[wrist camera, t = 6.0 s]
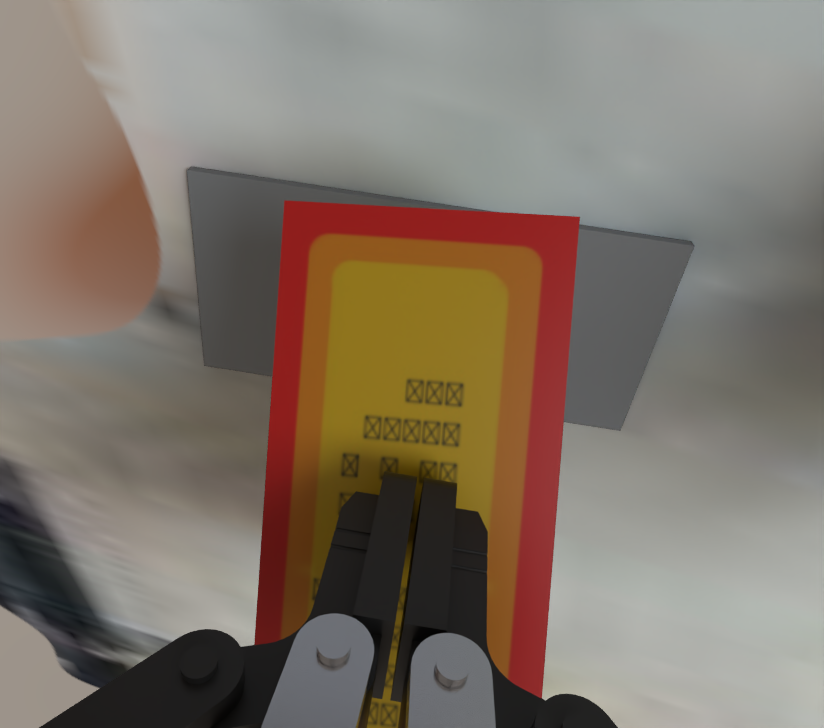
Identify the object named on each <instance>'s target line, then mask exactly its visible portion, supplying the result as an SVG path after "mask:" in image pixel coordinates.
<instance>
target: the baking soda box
mask: <svg viewBox="0 0 824 728" xmlns="http://www.w3.org/2000/svg"><path fill="white" fill-rule="evenodd" d="M579 221H580V217H572V216H554V215H536V214H518V213H500V212H482V211H465V210H447V209H429V208H411V207H393V206H375V205H358V204H340V203H322V202H304V201H286V200H284V214H283V228H282V243H281V258H280V273H279V288H278V303H277V318H276V332H275V347H274V362H273V377H272V392H271V407H270V422H269V436H268V451H267V466H266V481H265V496H264V511H263V526H262V540H261V555H260V570H259V585H258V600H257V615H256V630H255V644H254V645H259V644H266V643H271V642H276V641H279V640H281V639H284V638H286V637H288V636H290V635H291V634H293V633H294V632H296V631H297V630H298V629H299V628H300V627H301V626H302V625H303V624H304V623H305V622H306V620H307V619H308V617H309V615H310V613H311V611H312V608H313V605H314V601H315V598H316V594H317V591H318V587H319V584H320V580H321V577H322V573H323V570H324V566H325V563H326V559H327V556H328V552H329V549H330V547H331V542H332V538H333V535H334V531H335V529H336V524H337V521H338V517H339V514H340V510H341V507H342V506H343V505H344V504H345V503H346V502H347V501H348V500H349V499H350V497H351V496H352V495H353V494H354V493H355V492H356V491H357V492H363V493H369V494H375V495H379V493H380V489H381V484H382V480H383V475H384V472H385V471H387V472H393V473H399V474H405V475H411V476H417V483H416V489H415V496H414V503H413V509H412V516H411V522H410V529H409V535H408V542H407V549H406V555H405V562H404V568H403V575H402V581H401V588H400V595H399V601H398V608H397V614H396V621H395V627H394V633H393V639H392V645H391V651H390V656H389V662H388V668H387V674H386V680H385V686H384V692H383V698H382V699H378V698H372V700H371V706H370V712H369V718H368V724H367V728H398V723H399V715H400V707H401V702H396V701H391V700H390V698H391V691H392V684H393V677H394V670H395V663H396V656H397V649H398V642H399V635H400V628H401V621H402V614H403V607H404V600H405V593H406V586H407V579H408V572H409V565H410V558H411V552H412V545H413V539H414V533H415V527H416V521H417V515H418V509H419V504H420V498H421V492H422V486H423V481H424V478H430V479H436V480H442V481H448V482H454V483H457V497H456V508H460V509H466V510H472V511H478V512H479V514H480V516H481V519H482V521H483V523H484V525H485V527H486V529H487V531H488V553H487V557H488V561H487V646H488V650H489V653H490V656H491V658H492V660H493V662H494V664H495V665H496V667H497V668H498V669H499V671H500V672H501V673H502V674H503V675H504V676H505V677H506V678H507V679H508V680H510V681H511V682H512V683H514V684H515V685H517V686H519V687H520V688H522V689H524V690H526V691H528V692H530V693H532V694H534V695H536V696H538V697H539V698H541V699H542V688H543V675H544V663H545V650H546V637H547V625H548V612H549V600H550V587H551V574H552V562H553V549H554V537H555V524H556V511H557V499H558V486H559V473H560V461H561V448H562V436H563V423H564V410H565V398H566V385H567V372H568V360H569V347H570V335H571V322H572V309H573V297H574V284H575V272H576V259H577V246H578V234H579Z"/></svg>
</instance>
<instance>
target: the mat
mask: <svg viewBox="0 0 824 728" xmlns="http://www.w3.org/2000/svg"><path fill="white" fill-rule="evenodd" d="M187 177H188V189H189V200H190V211H191V222H192V234H193V245H194V256H195V267H196V278H197V290H198V301H199V312H200V323H201V335H202V346H203V357H204V366H210V367H216V368H222V369H229V370H235V371H242V372H248V373H254V374H261V375H267V376H273V362H274V347H275V332H276V318H277V303H278V288H279V273H280V258H281V243H282V228H283V214H284V200H286V201H304V202H322V203H340V204H358V205H375V206H393V207H411V208H429V209H447V210H465V211H482V212H491V211H484V210H478V209H471V208H464V207H458V206H451V205H444V204H438V203H431V202H424V201H418V200H411V199H404V198H397V197H391V196H384V195H377V194H371V193H364V192H357V191H351V190H344V189H337V188H331V187H324V186H317V185H311V184H304V183H297V182H291V181H284V180H277V179H271V178H264V177H257V176H251V175H244V174H237V173H231V172H224V171H217V170H211V169H204V168H197V167H190V168H189V169H187ZM693 248H694V245H693V243H692V242H691V241H684V240H678V239H671V238H664V237H658V236H651V235H644V234H638V233H631V232H624V231H618V230H611V229H604V228H598V227H591V226H584V225H579V234H578V246H577V259H576V272H575V284H574V297H573V309H572V322H571V335H570V347H569V360H568V372H567V385H566V398H565V410H564V422H568V423H574V424H580V425H587V426H593V427H600V428H606V429H612V430H619V431H620V430H621V428H622V425H623V423H624V420H625V418H626V415H627V413H628V410H629V408H630V405H631V403H632V400H633V398H634V395H635V393H636V390H637V388H638V385H639V383H640V380H641V378H642V375H643V373H644V370H645V368H646V365H647V363H648V360H649V358H650V355H651V353H652V350H653V348H654V345H655V343H656V340H657V338H658V336H659V333H660V331H661V328H662V326H663V323H664V321H665V318H666V316H667V313H668V311H669V308H670V306H671V303H672V301H673V298H674V296H675V293H676V291H677V288H678V286H679V283H680V281H681V278H682V276H683V273H684V271H685V268H686V266H687V263H688V261H689V258H690V256H691V253H692V251H693Z"/></svg>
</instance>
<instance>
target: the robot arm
mask: <svg viewBox="0 0 824 728" xmlns="http://www.w3.org/2000/svg"><path fill="white" fill-rule="evenodd" d="M416 483H417V476H411V475H405V474H399V473H393V472H387V471H385V472H384V475H383V480H382V484H381V489H380V493H379V495H375V494H369V493H363V492H357V491H356V492H355V493H354V494H353V495H352V496H351V497H350V499H349V500H348V501H347V502H346V503H345V504H344V505H343V506H342V507H341V510H340V514H339V517H338V521H337V524H336V529H335V531H334V535H333V538H332V542H331V547H330V549H329V552H328V556H327V559H326V563H325V566H324V570H323V573H322V577H321V580H320V584H319V587H318V591H317V594H316V598H315V601H314V605H313V608H312V611H311V613H310V615H309V617H308V619H307V620H306V622H305V623H304V624H303V625H302V626H301V627H300V628H299V629H298V630H297V631H296V632H294V633H293V634H291V635H290V636H288V637H286V638H284V639H281V640H279V641H276V642H271V643H266V644H259V645H252V646H245V647H240V646H239V644H238V643H237V641H236V640H235V639H234V638H233V637H231V636H230V635H228V634H226V633H224V632H222V631H218V630H211V629H204V630H197V631H193V632H190V633H187V634H185V635H183V636H181V637H179V638H178V639H176V640H174V641H173V642H171V643H170V644H168V645H167V646H165V647H164V648H162V649H161V650H159V651H157V652H156V653H154V654H153V655H151V656H150V657H148V658H147V659H145V660H143V661H142V662H140V663H139V664H137V665H136V666H134V667H133V668H131V669H129V670H128V671H126V672H125V673H123V674H122V675H120V676H119V677H117V678H116V679H114V680H112V681H111V682H109V683H108V684H106V685H105V686H103V687H102V688H100V689H98V690H97V691H95V692H94V693H92V694H91V695H89V696H88V697H86V698H84V699H83V700H81V701H80V702H78V703H77V704H75V705H74V706H72V707H70V708H69V709H67V710H66V711H64V712H63V713H61V714H60V715H58V716H57V717H55V718H53V719H52V720H50V721H49V722H47V723H46V724H44V725H43V726H41V727H39V728H367V724H368V718H369V712H370V706H371V700H372V698H378V699H382V698H383V692H384V686H385V680H386V674H387V668H388V662H389V656H390V651H391V645H392V639H393V633H394V627H395V621H396V614H397V608H398V601H399V595H400V588H401V581H402V575H403V568H404V562H405V555H406V549H407V542H408V535H409V529H410V522H411V516H412V509H413V503H414V496H415V489H416ZM456 497H457V483H454V482H448V481H442V480H436V479H430V478H424V481H423V486H422V492H421V498H420V504H419V509H418V515H417V521H416V527H415V533H414V539H413V545H412V552H411V558H410V565H409V572H408V579H407V586H406V593H405V600H404V607H403V614H402V621H401V628H400V635H399V642H398V649H397V656H396V663H395V670H394V677H393V684H392V691H391V698H390V700H391V701H396V702H401V707H400V715H399V723H398V728H618V727H617V726H616V725H615V724H614V722H613V721H612V720H611V719H610V717H609V716H608V715H607V714H606V713H605V712H604V711H603V710H602V709H601V708H600V707H599V706H597V705H596V704H595V703H593V702H591V701H590V700H588V699H586V698H584V697H581V696H577V695H573V694H560V695H555V696H553V697H551V698H549V699H548V700H546V701H545V700H543V699H541V698H539V697H538V696H536V695H534V694H532V693H530V692H528V691H526V690H524V689H522V688H520V687H519V686H517V685H515V684H514V683H512V682H511V681H510V680H508V679H507V678H506V677H505V676H504V675H503V674H502V673H501V672H500V671H499V669H498V668H497V667H496V665H495V664H494V662H493V660H492V658H491V656H490V653H489V650H488V646H487V561H488V557H487V553H488V531H487V529H486V527H485V525H484V523H483V521H482V519H481V516H480V514H479V512H478V511H472V510H466V509H460V508H456Z"/></svg>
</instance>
